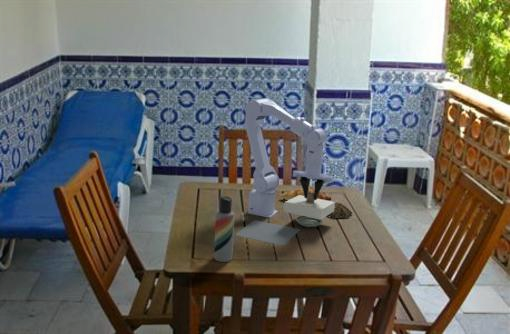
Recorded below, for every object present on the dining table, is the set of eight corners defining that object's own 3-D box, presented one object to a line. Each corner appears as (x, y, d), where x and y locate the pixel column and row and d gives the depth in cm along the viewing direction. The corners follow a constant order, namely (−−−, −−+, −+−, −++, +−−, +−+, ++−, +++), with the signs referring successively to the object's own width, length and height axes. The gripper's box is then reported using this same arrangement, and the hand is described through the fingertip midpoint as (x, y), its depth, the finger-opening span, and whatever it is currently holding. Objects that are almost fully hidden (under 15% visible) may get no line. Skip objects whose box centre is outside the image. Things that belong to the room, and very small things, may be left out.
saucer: (327, 226, 203) (327, 220, 202) (310, 232, 196) (311, 226, 195) (306, 219, 209) (307, 213, 209) (290, 224, 202) (290, 218, 202)
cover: (283, 211, 197) (285, 191, 196) (298, 204, 210) (300, 185, 208) (320, 219, 191) (323, 198, 190) (333, 211, 204) (336, 192, 202)
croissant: (279, 210, 228) (279, 196, 222) (280, 192, 235) (280, 179, 230) (330, 213, 226) (332, 199, 221) (330, 195, 234) (332, 182, 228)
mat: (234, 235, 189) (234, 234, 189) (254, 220, 204) (254, 220, 204) (283, 246, 182) (283, 245, 182) (300, 230, 197) (300, 229, 197)
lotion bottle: (213, 254, 173) (216, 194, 168) (231, 254, 174) (234, 194, 168) (213, 262, 168) (216, 200, 162) (232, 262, 168) (235, 200, 163)
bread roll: (314, 210, 220) (315, 198, 219) (341, 207, 225) (342, 196, 224) (330, 221, 209) (331, 208, 208) (358, 218, 214) (359, 206, 212)
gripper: (291, 161, 196) (288, 197, 199) (330, 167, 190) (326, 204, 194) (297, 157, 202) (295, 192, 205) (335, 163, 196) (332, 199, 200)
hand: (310, 198), depth 200 cm, fingers closed on cover, 3 cm apart
